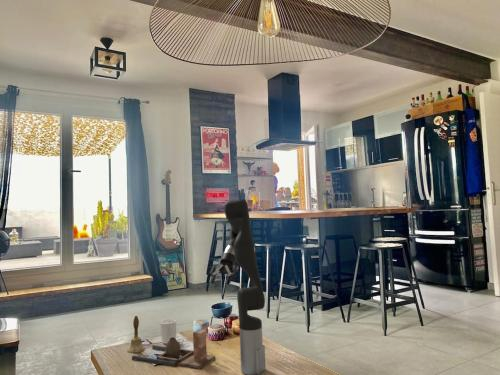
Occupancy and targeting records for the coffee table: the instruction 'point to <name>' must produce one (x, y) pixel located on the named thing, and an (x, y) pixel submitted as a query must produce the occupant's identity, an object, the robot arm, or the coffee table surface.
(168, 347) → the vase
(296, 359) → the coffee table surface
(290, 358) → the coffee table surface
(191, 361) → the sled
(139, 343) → the hand bell
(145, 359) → the lane rails
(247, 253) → the robot arm
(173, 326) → the white cup
